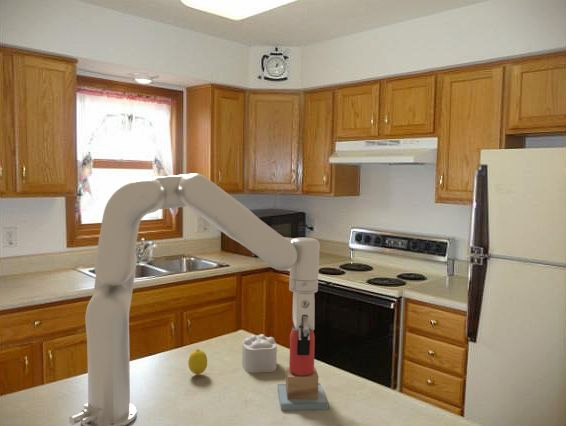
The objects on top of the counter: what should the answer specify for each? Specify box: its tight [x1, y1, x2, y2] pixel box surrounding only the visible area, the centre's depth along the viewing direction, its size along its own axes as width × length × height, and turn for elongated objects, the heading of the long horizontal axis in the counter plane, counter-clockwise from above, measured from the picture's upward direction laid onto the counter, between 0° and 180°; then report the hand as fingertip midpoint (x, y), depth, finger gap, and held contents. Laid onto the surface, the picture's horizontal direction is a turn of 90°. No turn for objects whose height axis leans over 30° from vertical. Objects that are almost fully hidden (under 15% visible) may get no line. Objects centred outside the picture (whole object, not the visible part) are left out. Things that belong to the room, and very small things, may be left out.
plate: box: [277, 382, 328, 411], centre depth 130 cm, size 12×12×2 cm
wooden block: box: [285, 366, 319, 399], centre depth 129 cm, size 6×8×6 cm
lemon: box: [187, 348, 208, 376], centre depth 143 cm, size 6×6×8 cm
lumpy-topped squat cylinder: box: [241, 333, 278, 374], centre depth 153 cm, size 10×13×9 cm
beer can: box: [288, 325, 316, 376], centre depth 129 cm, size 7×7×12 cm
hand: (300, 348), depth 128 cm, fingers open, 9 cm apart
